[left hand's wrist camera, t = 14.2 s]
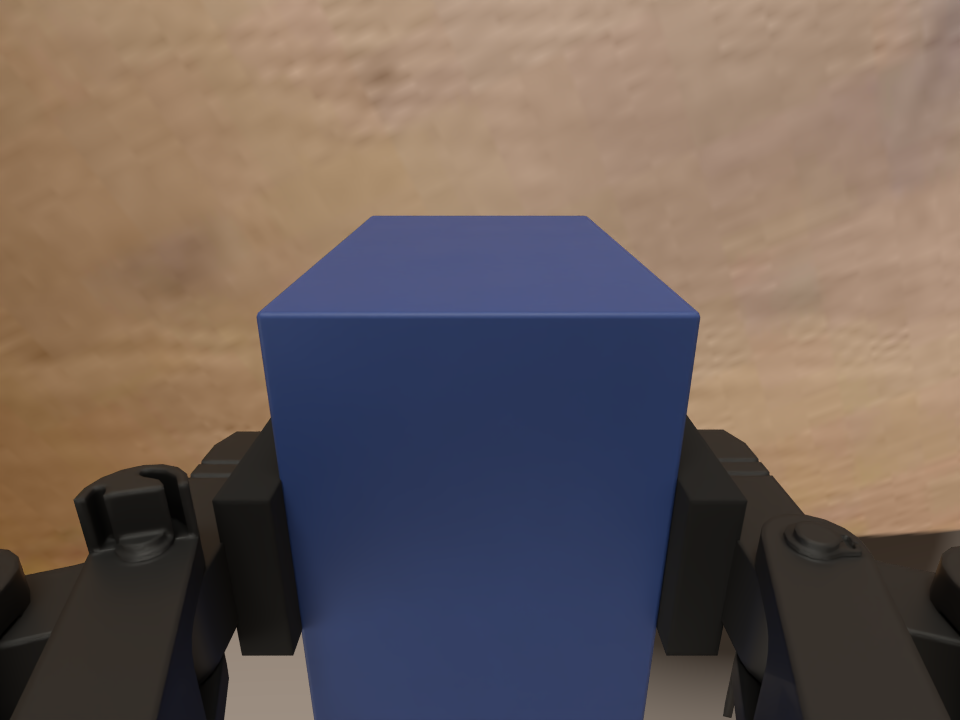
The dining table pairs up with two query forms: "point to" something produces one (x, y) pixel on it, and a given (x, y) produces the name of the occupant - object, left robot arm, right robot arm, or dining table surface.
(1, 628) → the left robot arm
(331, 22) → the dining table surface
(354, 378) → the brick
